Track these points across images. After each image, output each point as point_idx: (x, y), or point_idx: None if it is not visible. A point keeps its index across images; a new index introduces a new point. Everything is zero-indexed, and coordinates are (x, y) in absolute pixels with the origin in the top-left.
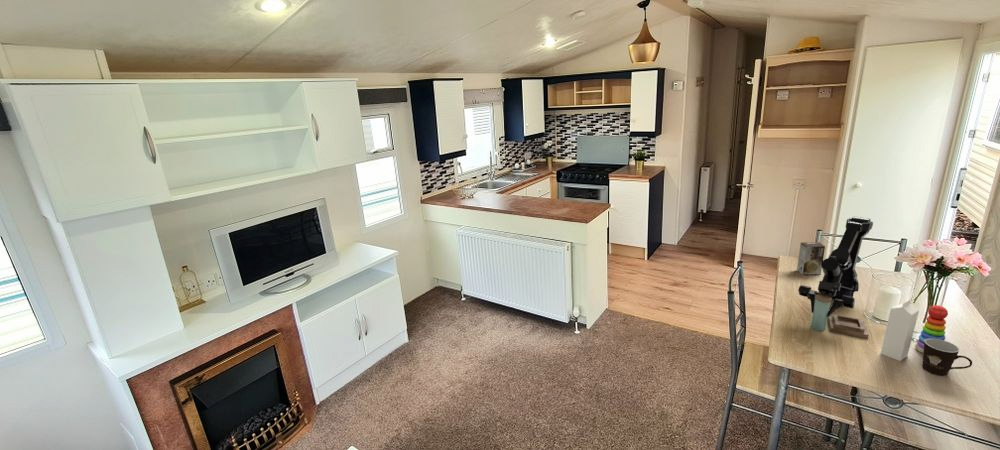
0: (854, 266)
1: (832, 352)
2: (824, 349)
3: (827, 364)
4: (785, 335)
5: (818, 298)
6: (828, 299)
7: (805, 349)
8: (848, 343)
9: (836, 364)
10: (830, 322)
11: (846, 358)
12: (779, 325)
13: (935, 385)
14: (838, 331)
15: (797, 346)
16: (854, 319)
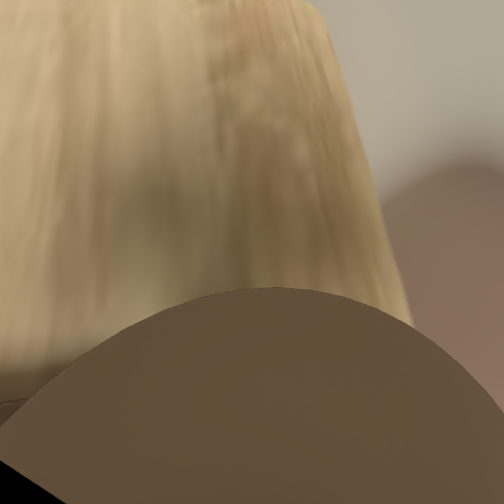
0: None
1: (117, 103)
2: (156, 116)
3: (143, 4)
4: (339, 172)
5: (414, 334)
6: (56, 470)
7: (237, 83)
8: (7, 250)
9: (105, 13)
10: None
11: (50, 73)
12: (396, 270)
13: None
14: None
15: (271, 95)
16: None
